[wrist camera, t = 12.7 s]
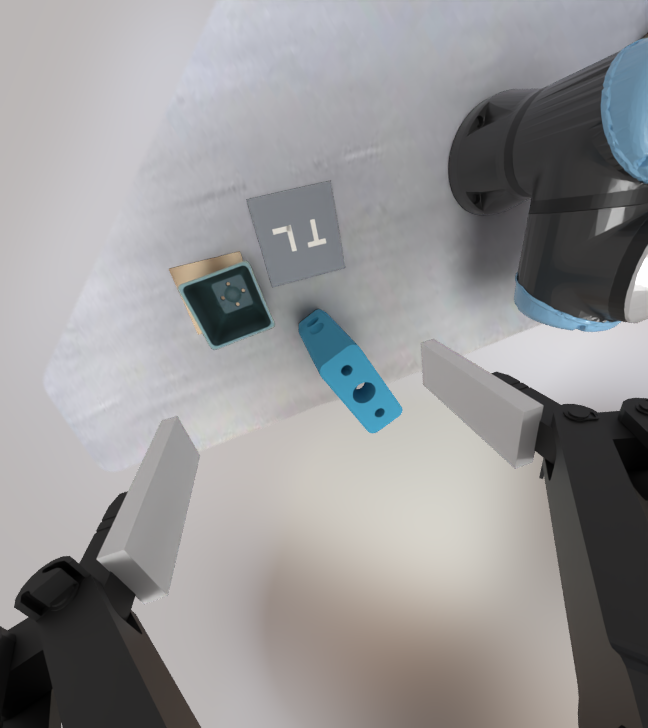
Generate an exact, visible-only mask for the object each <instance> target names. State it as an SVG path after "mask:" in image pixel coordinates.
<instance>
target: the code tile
mask: <svg viewBox="0 0 648 728" xmlns="http://www.w3.org/2000/svg"><path fill="white" fill-rule="evenodd" d="M246 200H247V203H248V207H249V210H250V213H251V217H252V220H253V224H254V227H255V231H256V234H257V237H258V241H259V244H260V248H261V251H262V254H263V258H264V261H265V265H266V268H267V271H268V275H269V278H270V282H271V285H272V287H275V286H279V285H283V284H287V283H290V282H294V281H298V280H302V279H305V278H309V277H313V276H317V275H320V274H324V273H328V272H332V271H335V270H339V269H343V268H345V263H344V257H343V251H342V245H341V239H340V233H339V227H338V221H337V215H336V209H335V203H334V197H333V191H332V185H331V180H330V181H326V182H321V183H317V184H313V185H308V186H304V187H299V188H295V189H290V190H286V191H281V192H277V193H273V194H268V195H264V196H259V197H255V198H250V199H246Z"/></svg>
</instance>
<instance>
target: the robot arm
mask: <svg viewBox="0 0 648 728" xmlns="http://www.w3.org/2000/svg"><path fill="white" fill-rule="evenodd" d="M449 179H450V185H451V188H452V192H453V194H454V196H455V198H456V200H457V201H458V203H459V204H460V205H461V206H462V207H463V208H464V209H465V210H467V211H468V212H470V213H473V214H477V215H488V214H497V213H500V212H504V211H506V210H508V209H510V208H512V207H514V206H516V205H518V204H520V203H522V202H524V201H526V200H528V199H530V198H532V199H531V205H530V210H529V214H528V220H527V225H526V230H525V236H524V241H523V246H522V252H521V257H520V262H519V268H518V272H517V273H516V276H515V281H516V288H515V296H514V301H515V304H516V306H517V307H518V309H519V311H520V312H522V313H523V314H524V315H526V316H527V317H529V318H531V319H533V320H535V321H537V322H540V323H543V324H546V325H549V326H552V327H556V328H561V329H567V330H574V329H579V330H581V331H587V332H597V331H604V330H608V329H611V328H613V327H615V326H616V325H617V324H619V323H620V322H621V321H623V322H629V323H638V322H640V321H643V320H646V319H648V38H644V39H640V40H637V41H636V42H634V43H632V44H630V45H628V46H627V47H625V48H624V49H622V50H621V51H619V52H617V53H615V54H613V55H611V56H609V57H607V58H605V59H603V60H601V61H599V62H596V63H594V64H592V65H590V66H588V67H586V68H584V69H582V70H580V71H578V72H576V73H574V74H572V75H570V76H567V77H565V78H563V79H561V80H559V81H557V82H555V83H553V84H551V85H549V86H547V87H545V88H543V89H511V90H506V91H503V92H500V93H498V94H496V95H494V96H492V97H490V98H488V99H486V100H485V101H483V102H482V103H480V104H479V105H478V106H476V107H475V108H474V109H473V110H472V111H471V112H470V113H469V115H468V116H467V117H466V119H465V120H464V121H463V123H462V125H461V126H460V128H459V130H458V132H457V134H456V137H455V139H454V142H453V146H452V149H451V154H450V160H449ZM421 354H422V373H423V385H424V386H425V387H426V388H427V389H428V390H429V391H431V392H432V393H433V394H434V395H435V396H436V397H437V398H438V399H439V400H441V401H442V402H443V403H444V404H445V405H446V406H447V407H448V408H449V409H450V410H451V411H452V412H453V413H455V414H456V415H457V416H458V417H459V418H460V419H461V420H462V421H463V422H464V423H466V424H467V425H468V426H469V427H470V428H471V429H472V430H473V431H474V432H475V433H476V434H478V435H479V436H480V437H481V438H482V439H483V440H484V441H485V442H486V443H488V444H489V445H490V446H491V447H492V448H493V449H494V450H495V451H496V452H497V453H498V454H500V455H501V456H502V457H503V458H504V459H505V460H506V461H507V462H508V463H509V464H511V466H513V467H514V468H515V469H516V468H519V467H522V466H524V465H527V464H530V463H532V462H533V458H534V453H535V451H536V452H538V453H539V454H540V455H541V456H542V457H544V458H543V463H542V468H541V472H540V478H541V479H543V477H545V484H546V490H547V496H548V502H549V508H550V514H551V521H552V527H553V533H554V540H555V546H556V552H557V558H558V564H559V570H560V576H561V583H562V589H563V596H564V601H565V608H566V613H567V620H568V626H569V633H570V639H571V645H572V651H573V657H574V664H575V670H576V676H577V683H578V693H579V704H578V725H579V728H648V399H646V398H632V399H627V400H625V401H623V404H622V407H621V409H620V411H613V412H600V413H597V412H596V411H594V410H593V409H590V408H588V407H585V406H581V405H576V404H563V405H560V404H558V403H557V402H555V401H553V400H551V399H550V398H548V397H546V396H545V395H543V394H541V393H539V392H537V391H536V390H534V389H532V388H529V387H528V386H527V385H525V384H524V383H520V381H518V380H517V379H515V378H513V377H511V376H509V375H506V374H502V373H499V372H494V373H489V372H488V371H486V370H484V369H482V368H481V367H479V366H478V365H476V364H474V363H473V362H471V361H469V360H468V359H466V358H465V357H463V356H461V355H460V354H458V353H456V352H455V351H453V350H451V349H450V348H448V347H446V346H445V345H443V344H442V343H440V342H438V341H437V340H435V339H431V340H428V341H425V342H421ZM199 458H200V455H199V453H198V451H197V449H196V448H195V446H194V444H193V442H192V441H191V439H190V437H189V435H188V434H187V432H186V430H185V429H184V427H183V425H182V423H181V422H180V420H179V418H178V416H175V417H172V418H169V419H165V420H162V421H161V423H160V425H159V427H158V429H157V431H156V433H155V436H154V438H153V440H152V442H151V444H150V446H149V448H148V450H147V453H146V455H145V457H144V459H143V461H142V463H141V465H140V467H139V469H138V472H137V474H136V476H135V478H134V480H133V482H132V484H131V486H130V489H129V491H127V492H124V493H121V494H119V495H118V497H117V498H116V499H115V500H114V501H113V502H112V504H111V505H110V506H109V507H108V509H107V511H106V513H105V515H104V517H103V519H102V522H101V523H100V525H99V527H98V529H97V533H96V534H94V536H93V538H92V540H91V542H90V544H89V546H88V548H87V550H86V552H85V554H84V556H83V558H82V560H81V561H80V563H77V562H76V561H75V560H74V559H73V558H71V557H70V556H64V557H60V558H58V559H55V560H53V561H51V562H50V563H48V564H47V565H45V566H44V567H42V568H41V569H40V570H38V571H37V572H36V573H35V574H34V575H33V576H32V577H31V578H30V579H29V580H28V581H27V582H26V584H25V585H24V586H23V587H22V588H21V590H20V592H19V594H18V595H17V597H16V600H15V606H14V608H16V609H17V610H20V611H21V612H22V613H24V614H25V615H27V616H28V618H27V619H25V620H24V621H22V622H20V623H19V624H17V625H16V626H14V627H12V628H11V629H9V630H6V629H4V628H2V627H1V626H0V728H61V722H62V726H63V728H201V726H200V725H199V723H198V721H197V720H196V718H195V716H194V714H193V713H192V711H191V709H190V708H189V706H188V704H187V703H186V701H185V699H184V697H183V695H182V694H181V692H180V690H179V688H178V687H177V685H176V684H175V681H174V680H173V678H172V677H171V674H170V673H169V671H168V669H167V668H166V666H165V664H164V662H163V661H162V659H161V657H160V655H159V654H158V652H157V650H156V648H155V647H154V645H153V643H152V642H151V640H150V638H149V636H148V635H147V633H146V631H145V629H144V628H143V626H142V624H141V622H140V621H139V619H138V617H137V616H136V614H135V613H134V612H133V611H132V610H131V608H132V605H133V601H134V598H135V596H136V597H137V598H138V599H139V600H140V601H141V602H142V603H143V604H147V603H150V602H152V601H155V600H158V599H161V598H163V597H166V596H168V593H169V588H170V584H171V579H172V575H173V571H174V567H175V562H176V558H177V553H178V549H179V545H180V541H181V536H182V532H183V527H184V523H185V519H186V514H187V510H188V506H189V501H190V497H191V493H192V488H193V484H194V480H195V475H196V471H197V467H198V462H199Z"/></svg>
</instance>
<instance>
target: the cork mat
mask: <svg viewBox="0 0 648 728" xmlns="http://www.w3.org/2000/svg"><path fill="white" fill-rule="evenodd" d="M240 262H243V260H242V257H241V254H240V251H239V252H235V253H231V254H227V255H223V256H219V257H215V258H211V259H207V260H203V261H199V262H195V263H190V264H186V265H182V266H178V267H174V268H170V269H169V271H170V273H171V275H172V278H173V280H174V282H175V284H176V286H177V289H178V286H179V285H180V284H183V283H185V282H188V281H191V280H194V279H197V278H200V277H202V276H205V275H208V274H210V273H213V272H216V271H218V270H221V269H224V268H227V267H229V266H232V265H235V264H237V263H240ZM226 284H227V285H230V283H229V282H227V283H226ZM241 291H242V292H245V289H242V290H241ZM181 297H182V296H181ZM221 299H222V300H224V299H225V297H224V296H222V297H221ZM182 300H183V298H182ZM183 302H184V304H185V306H186V308H187V311H188V313H189V315H190V317H191V320H192V322H193V324H194V326H195V328H196V331H197V333H198V335H199V334H202V331H201V330H200V328H199V326H198V324H197V322H196V321H195V319H194V317H193V315H192V314H191V312H190V310H189V308H188V307H187V305H186V303H185V301H184V300H183ZM236 305H237V306H239V305H240V304H239V303H238V302H237V303H236Z"/></svg>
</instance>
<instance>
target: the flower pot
mask: <svg viewBox="0 0 648 728" xmlns="http://www.w3.org/2000/svg"><path fill="white" fill-rule="evenodd" d="M227 282H229V283H230V285H227V284H226V283H227ZM242 289H245V292H242V291H241V290H242ZM178 291H179V293H180V295H181V296H182V298H183V300H184V301H185V303H186V305H187V307H188V308H189V310H190V312H191V314H192V315H193V317H194V319H195V321H196V322H197V324H198V326H199V328H200V330H201V331H202V333H203V335H204V337H205V339H206V341H207V342H208V344H209V346H210V347H211V349H213V350H217V349H220V348H222V347H225V346H227V345H230V344H232V343H235V342H237V341H240V340H242V339H245V338H247V337H250V336H253V335H255V334H258V333H261V332H263V331H266V330H269V329H271V328H273V327H274V326H275V322H274V320H273V318H272V316H271V313H270V311H269V309H268V307H267V304H266V302H265V300H264V297H263V295H262V293H261V290H260V288H259V285H258V283H257V280H256V278H255V275H254V273H253V270H252V268H251V265H250V264H249V262H247V261H243V262H240V263H237V264H235V265H232V266H229V267H227V268H224V269H221V270H218V271H216V272H213V273H210V274H208V275H205V276H202V277H200V278H197V279H194V280H191V281H188V282H185V283H183V284H180V285H179V286H178ZM222 296H224V297H225V299H224V300H222V299H221V297H222ZM237 302H238V303H239V304H240V305H239V306H237V305H236V303H237Z"/></svg>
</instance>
